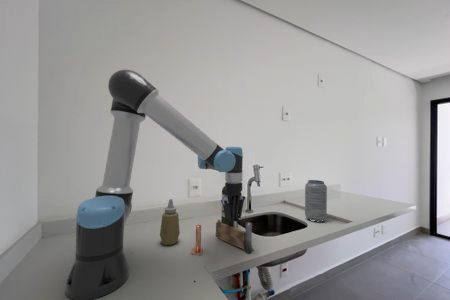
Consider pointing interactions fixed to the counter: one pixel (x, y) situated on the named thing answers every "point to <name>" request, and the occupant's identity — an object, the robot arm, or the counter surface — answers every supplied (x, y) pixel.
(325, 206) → the vase
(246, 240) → the gate posts
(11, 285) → the counter surface
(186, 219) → the counter surface
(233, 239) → the gate
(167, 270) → the counter surface
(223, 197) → the wine bottle
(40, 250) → the counter surface
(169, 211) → the squeeze bottle
